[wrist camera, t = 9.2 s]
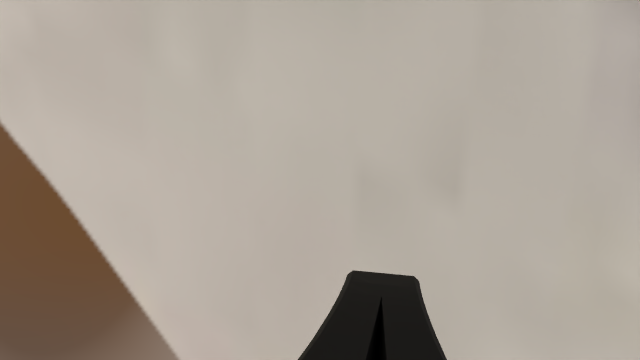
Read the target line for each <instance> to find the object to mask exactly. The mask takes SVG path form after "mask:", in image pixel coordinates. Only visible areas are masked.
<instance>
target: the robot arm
mask: <svg viewBox="0 0 640 360" xmlns="http://www.w3.org/2000/svg"><path fill="white" fill-rule="evenodd" d="M298 360H447V359H446V357H445V355H444V352H443V350H442V348H441V346H440V343H439V341H438V339H437V337H436V334H435V332H434V329H433V327H432V324H431V322H430V319H429V316H428V313H427V310H426V307H425V304H424V301H423V297H422V294H421V289H420V284H419V281H418V280H417V279H416V278H415V277H414V276H406V275H395V274H385V273H374V272H364V271H352V272H350V273H349V274H348V275H347V278H346V280H345V283H344V285H343V288H342V290H341V292H340V294H339V296H338V298H337V300H336V302H335V304H334V305H333V307H332V309H331V311H330V313H329V314H328V316H327V317H326V319H325V321H324V322H323V324H322V325H321V327H320V329H319V330H318V332H317V333H316V335H315V336H314V338H313V339H312V341H311V342H310V344H309V345H308V347H307V348H306V349H305V351H304V352H303V353H302V355H301V356H300V357H299V359H298Z"/></svg>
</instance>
